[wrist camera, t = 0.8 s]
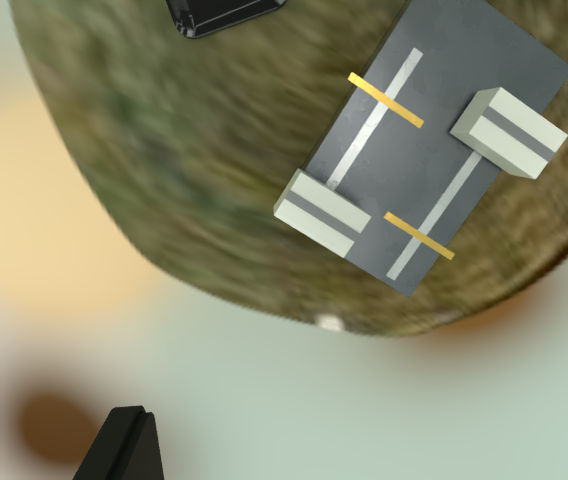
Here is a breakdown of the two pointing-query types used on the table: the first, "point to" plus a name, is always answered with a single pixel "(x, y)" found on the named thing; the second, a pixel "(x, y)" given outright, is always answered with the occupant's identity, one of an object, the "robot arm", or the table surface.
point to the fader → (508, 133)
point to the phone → (216, 14)
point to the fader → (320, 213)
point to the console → (425, 130)
